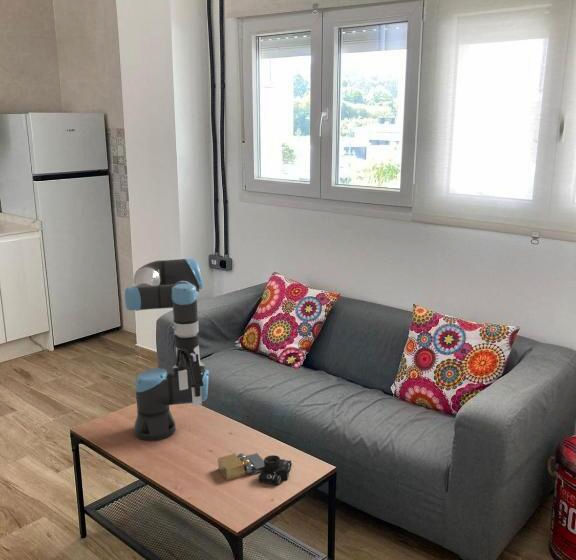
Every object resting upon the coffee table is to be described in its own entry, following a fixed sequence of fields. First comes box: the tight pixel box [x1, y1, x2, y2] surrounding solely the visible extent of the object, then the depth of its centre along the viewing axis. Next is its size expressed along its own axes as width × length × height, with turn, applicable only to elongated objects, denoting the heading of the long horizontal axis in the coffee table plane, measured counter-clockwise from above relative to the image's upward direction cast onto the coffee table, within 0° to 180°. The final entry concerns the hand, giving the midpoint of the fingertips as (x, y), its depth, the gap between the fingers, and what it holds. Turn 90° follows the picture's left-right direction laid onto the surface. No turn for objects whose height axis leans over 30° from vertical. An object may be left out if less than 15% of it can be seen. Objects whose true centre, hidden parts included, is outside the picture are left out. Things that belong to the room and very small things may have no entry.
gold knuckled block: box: [217, 453, 251, 481], centre depth 211 cm, size 10×8×4 cm
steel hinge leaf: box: [236, 452, 265, 476], centre depth 213 cm, size 8×9×3 cm
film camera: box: [258, 455, 293, 485], centre depth 208 cm, size 13×8×10 cm
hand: (190, 397), depth 205 cm, fingers open, 13 cm apart
